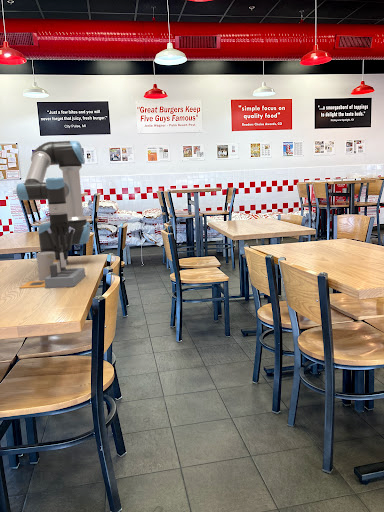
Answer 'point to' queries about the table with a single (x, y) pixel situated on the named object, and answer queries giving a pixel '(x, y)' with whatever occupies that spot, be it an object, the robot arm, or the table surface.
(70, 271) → the grey switch box
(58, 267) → the toggle
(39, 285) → the pad
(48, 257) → the white closed cylinder
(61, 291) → the table surface
